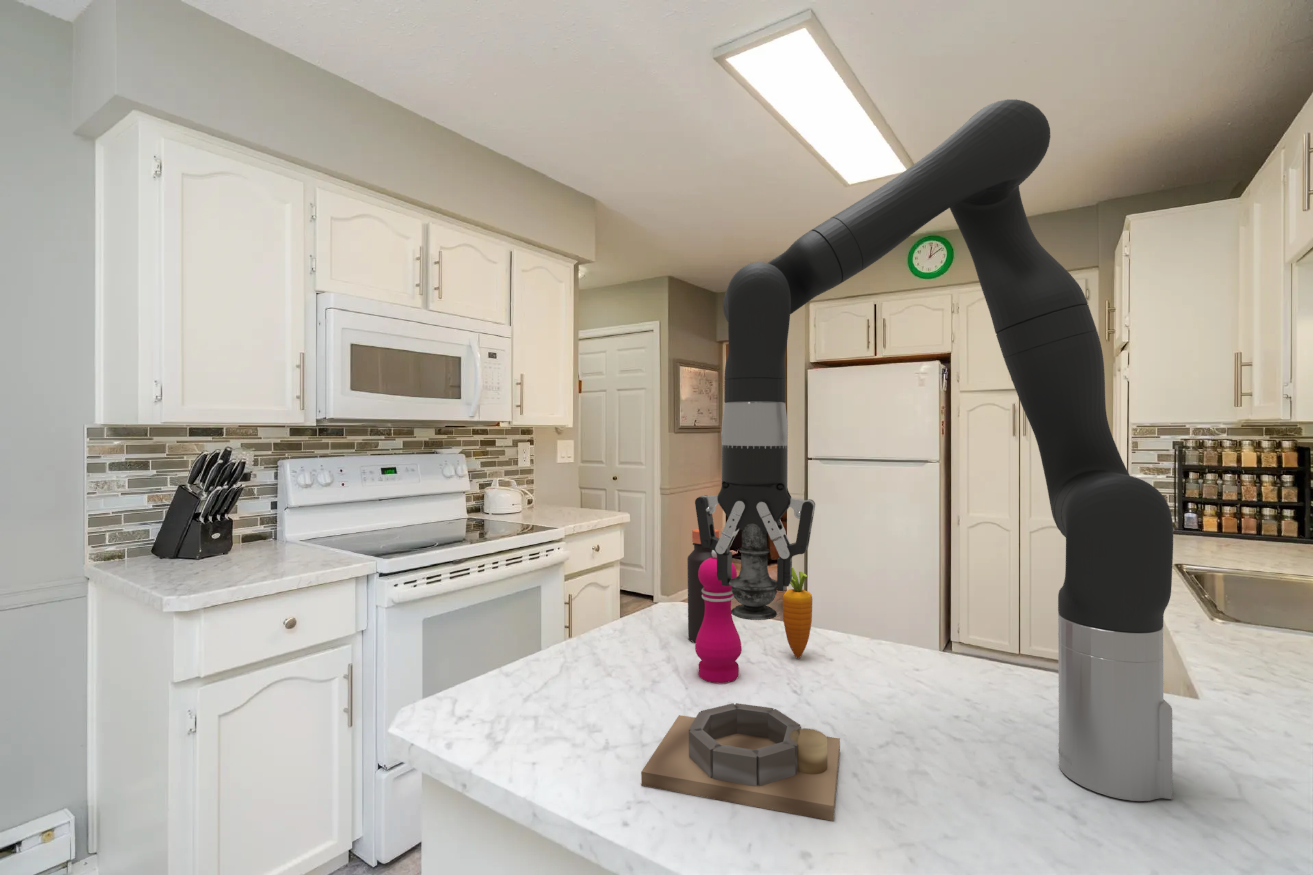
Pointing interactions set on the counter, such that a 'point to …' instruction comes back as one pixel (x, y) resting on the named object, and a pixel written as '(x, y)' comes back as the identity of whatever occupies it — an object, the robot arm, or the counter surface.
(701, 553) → the bottle
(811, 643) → the counter surface
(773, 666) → the counter surface
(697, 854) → the counter surface
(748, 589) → the salt shaker
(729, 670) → the pepper mill
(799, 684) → the counter surface
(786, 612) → the carrot
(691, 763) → the board
